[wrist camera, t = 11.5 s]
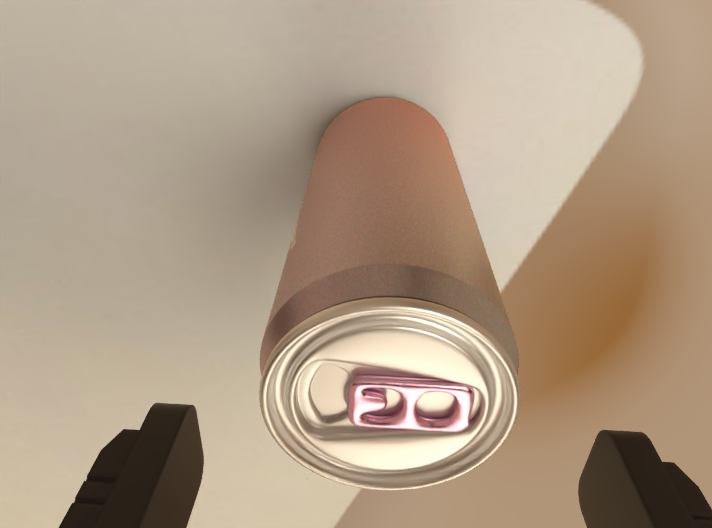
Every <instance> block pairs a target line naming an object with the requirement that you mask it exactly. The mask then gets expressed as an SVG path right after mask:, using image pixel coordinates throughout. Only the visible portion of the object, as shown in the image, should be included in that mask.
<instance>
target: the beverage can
mask: <svg viewBox="0 0 712 528" xmlns="http://www.w3.org/2000/svg"><path fill="white" fill-rule="evenodd" d="M518 366H519V357H518V348H517V344H516V340H515V337H514V334H513V331H512V328H511V325H510V322H509V319H508V316H507V313H506V310H505V307H504V304H503V301H502V298H501V295H500V292H499V289H498V286H497V283H496V280H495V277H494V274H493V271H492V268H491V265H490V262H489V259H488V256H487V253H486V250H485V247H484V244H483V241H482V238H481V235H480V232H479V229H478V226H477V223H476V221H475V218H474V215H473V212H472V209H471V206H470V203H469V200H468V197H467V194H466V191H465V188H464V185H463V182H462V179H461V176H460V173H459V170H458V167H457V164H456V161H455V158H454V155H453V152H452V149H451V146H450V143H449V140H448V138H447V135H446V133H445V131H444V129H443V128H442V126H441V125H440V124H439V122H438V121H437V120H436V119H435V118H434V117H433V116H432V115H431V114H430V113H429V112H427V111H426V110H425V109H423V108H422V107H420V106H418V105H416V104H414V103H412V102H409V101H406V100H403V99H398V98H390V97H382V98H373V99H368V100H365V101H361V102H359V103H356V104H354V105H352V106H351V107H349V108H347V109H346V110H344V111H343V112H342V113H340V114H339V115H338V116H337V117H336V118H335V119H334V120H333V121H332V122H331V124H330V125H329V126H328V128H327V129H326V131H325V133H324V135H323V137H322V139H321V142H320V145H319V148H318V152H317V155H316V158H315V162H314V165H313V169H312V172H311V176H310V179H309V183H308V186H307V189H306V193H305V196H304V200H303V203H302V207H301V210H300V214H299V217H298V220H297V224H296V227H295V231H294V234H293V238H292V241H291V245H290V248H289V251H288V255H287V258H286V262H285V265H284V269H283V272H282V276H281V279H280V282H279V286H278V289H277V293H276V296H275V300H274V303H273V307H272V310H271V313H270V317H269V320H268V324H267V327H266V331H265V334H264V338H263V341H262V345H261V351H260V369H261V376H262V377H261V382H260V391H259V396H260V407H261V412H262V415H263V418H264V421H265V423H266V426H267V428H268V430H269V432H270V433H271V435H272V437H273V438H274V439H275V441H276V442H277V443H278V445H279V446H280V447H281V448H282V449H283V450H284V451H285V452H286V453H287V454H288V455H289V456H290V457H291V458H293V459H294V460H295V461H297V462H298V463H299V464H301V465H302V466H304V467H305V468H307V469H309V470H311V471H312V472H314V473H316V474H318V475H320V476H323V477H325V478H327V479H330V480H333V481H336V482H339V483H342V484H346V485H350V486H354V487H359V488H366V489H374V490H407V489H416V488H422V487H427V486H432V485H435V484H439V483H442V482H446V481H449V480H452V479H454V478H457V477H459V476H461V475H463V474H465V473H467V472H469V471H471V470H473V469H474V468H476V467H477V466H479V465H480V464H482V463H483V462H485V461H486V460H487V459H488V458H490V457H491V456H492V455H493V454H494V453H495V452H496V451H497V450H498V449H499V448H500V447H501V446H502V444H503V443H504V442H505V440H506V439H507V438H508V436H509V434H510V432H511V431H512V429H513V427H514V424H515V422H516V419H517V416H518V412H519V406H520V385H519V380H518V376H517V374H518Z"/></svg>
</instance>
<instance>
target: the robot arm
mask: <svg viewBox="0 0 712 528" xmlns="http://www.w3.org/2000/svg"><path fill="white" fill-rule="evenodd" d="M203 465H204V456H203V449H202V443H201V437H200V431H199V425H198V419H197V412H196V409H195V407H194V406H193V405H182V404H165V403H155V404H154V405H153V406H152V407H151V408H150V410H149V412H148V414H147V416H146V418H145V420H144V422H143V424H142V426H141V428H140V430H128V429H123V430H122V431H121V432H120V433H119V434H118V435H117V436H116V437H115V438H114V439H113V440H112V441H111V442H110V443H108V444H107V445H106V446H105V447H104V448H103V449H102V450H101V451H100V453H99V455H98V457H97V459H96V461H95V462H94V464H93V466H92V468H91V470H90V472H89V473H88V475H87V480H86V481H84V483H83V484H82V486H81V488H80V490H79V492H78V493H77V495H76V497H75V502H74V503H72V504H71V506H70V508H69V510H68V512H67V514H66V515H65V517H64V519H63V521H62V523H61V525H60V526H59V528H186V527H187V524H188V521H189V518H190V515H191V512H192V509H193V506H194V503H195V500H196V497H197V494H198V491H199V487H200V484H201V479H202V474H203ZM578 490H579V491H578V494H579V503H580V507H581V511H582V514H583V517H584V520H585V523H586V526H587V528H712V509H711V507H710V506H709V504H708V502H707V501H706V499H705V497H704V495H703V494H702V492H701V490H700V489H699V487H698V486H697V485H696V484H695V483H694V482H693V481H692V480H691V479H690V478H689V477H688V476H687V475H686V474H685V473H684V472H683V471H682V470H681V469H680V468H679V467H678V466H677V465H676V464H675V463H671V462H662V461H661V459H660V457H659V455H658V453H657V452H656V450H655V448H654V446H653V444H652V442H651V441H650V439H649V438H648V437H647V435H645V434H644V433H642V432H629V431H611V430H602V431H600V432H599V433H598V435H597V437H596V439H595V442H594V444H593V447H592V449H591V452H590V454H589V457H588V460H587V462H586V464H585V467H584V469H583V472H582V474H581V477H580V480H579V489H578Z"/></svg>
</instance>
